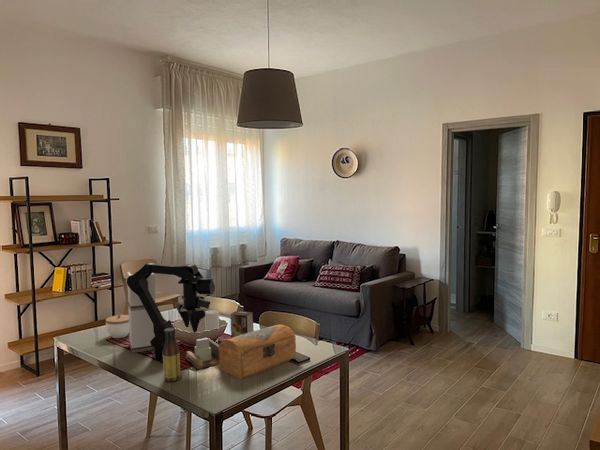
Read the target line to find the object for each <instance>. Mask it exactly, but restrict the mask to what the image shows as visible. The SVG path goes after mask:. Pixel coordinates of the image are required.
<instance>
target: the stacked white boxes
mask: <svg viewBox="0 0 600 450" xmlns="http://www.w3.org/2000/svg"><path fill="white" fill-rule="evenodd" d="M126 272H127V273H126V277H127V278H128V277H129V276H131V275H133V273H131V272H130V271H126ZM155 280H156V279H155V273H152V274H151V275H150V276H149V277H148V278H147V281H148V290H149V292H150V294H151V296H152V298H153V300H154V301H155V302H156V284H155V283H156V281H155ZM127 299H128V300H127V303H128V304H127V307H128V308H127V309H128V315H129V333H128V335H129V337H128V338H129V347H130V350H131V353H132V354H133V353H141V352H147V351H153V350H152V349H153V346H151V343H150V341H151V340H152V339H153V338H154V337H155V334H154V331H153V323H152V321H151V319H150V317H149V315H148V313H147V312H146V310H145V308H144V306H143V304H142V302H141V300H140V298H139V296H138V295H137V294H135V293H134V292H133V291H132V290H131V289H130V288H129V286H128V285H127ZM146 350H147V351H146Z"/></svg>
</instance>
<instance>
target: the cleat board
mask: <svg viewBox="0 0 600 450" xmlns="http://www.w3.org/2000/svg"><path fill="white" fill-rule="evenodd" d="M219 345H220V343H218V342H217V343H216V342H214V341H213V340H211V339H210V338H209V347H210V348H211V360H207V361H203V362H202V360H201V359H200V358H198V357H197V356H196V355H195V353H193V352H192V351H190V350H189V351H186V356H185V359H186V361H188V362H189V361H190V362H191V363H192V364H191V365H192V366H193V367H195V368H196V369H197V370H200V369H205V368H208V367H212V366H215V365H216V366H217V365H220V362H219ZM190 362H189V363H190Z"/></svg>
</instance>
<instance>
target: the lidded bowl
mask: <svg viewBox="0 0 600 450" xmlns="http://www.w3.org/2000/svg"><path fill="white" fill-rule="evenodd" d="M105 328H106V331H107V333H108V335H110V336H111V337H112V338H113V339H120V338H121V339H122V338H125V337H127V336H128V335H129V314H121V313H118V314H117V315H116V314H115V315H112V316H109V317H107V318H106V319H105Z"/></svg>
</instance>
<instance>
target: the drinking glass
mask: <svg viewBox="0 0 600 450" xmlns="http://www.w3.org/2000/svg"><path fill="white" fill-rule="evenodd" d="M219 325H220V311H219V310H216V309H211V310H210V309H209V310H206V311H205V317H204V327H205V331H206V330H211V329H214V328H217V327H219V328H220V326H219ZM215 342H217V343H219V338H218V339H217V340H216V341H215Z"/></svg>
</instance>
